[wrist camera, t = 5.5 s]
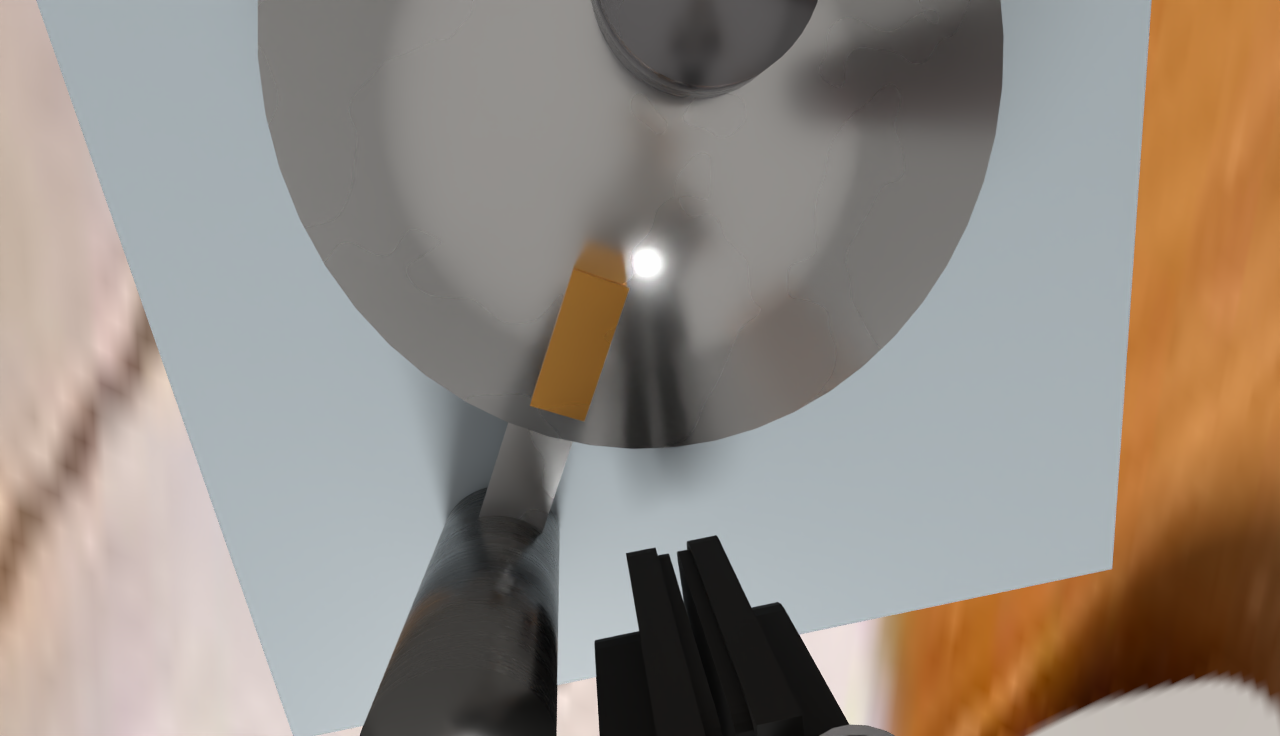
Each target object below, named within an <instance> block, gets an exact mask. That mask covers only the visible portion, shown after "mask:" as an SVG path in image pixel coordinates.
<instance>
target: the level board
mask: <svg viewBox="0 0 1280 736" xmlns="http://www.w3.org/2000/svg"><path fill="white" fill-rule="evenodd" d="M36 1H37V3H38V6H39V9H40V12H41V15H42V18H43V21H44V23H45V26H46V29H47V32H48V35H49V38H50V41H51V44H52V46H53V49H54V52H55V55H56V58H57V61H58V64H59V66H60V69H61V72H62V75H63V78H64V81H65V84H66V86H67V89H68V92H69V95H70V98H71V101H72V104H73V107H74V109H75V112H76V115H77V118H78V121H79V124H80V127H81V129H82V132H83V135H84V138H85V141H86V144H87V147H88V149H89V152H90V155H91V158H92V161H93V164H94V167H95V170H96V172H97V175H98V178H99V181H100V184H101V187H102V190H103V192H104V195H105V198H106V201H107V204H108V207H109V210H110V212H111V215H112V218H113V221H114V224H115V227H116V230H117V233H118V235H119V238H120V241H121V244H122V247H123V250H124V253H125V255H126V258H127V261H128V264H129V267H130V270H131V273H132V275H133V278H134V281H135V284H136V287H137V290H138V293H139V296H140V298H141V301H142V304H143V307H144V310H145V313H146V316H147V318H148V321H149V324H150V327H151V330H152V333H153V336H154V338H155V341H156V344H157V347H158V350H159V353H160V356H161V359H162V361H163V364H164V367H165V370H166V373H167V376H168V379H169V381H170V384H171V387H172V390H173V393H174V396H175V399H176V402H177V404H178V407H179V410H180V413H181V416H182V419H183V422H184V424H185V427H186V430H187V433H188V436H189V439H190V442H191V444H192V447H193V450H194V453H195V456H196V459H197V462H198V465H199V467H200V470H201V473H202V476H203V479H204V482H205V485H206V487H207V490H208V493H209V496H210V499H211V502H212V505H213V507H214V510H215V513H216V516H217V519H218V522H219V525H220V528H221V530H222V533H223V536H224V539H225V542H226V545H227V548H228V550H229V553H230V556H231V559H232V562H233V565H234V568H235V570H236V573H237V576H238V579H239V582H240V585H241V588H242V591H243V593H244V596H245V599H246V602H247V605H248V608H249V611H250V613H251V616H252V619H253V622H254V625H255V628H256V631H257V633H258V636H259V639H260V642H261V645H262V648H263V651H264V654H265V656H266V659H267V662H268V665H269V668H270V671H271V674H272V676H273V679H274V682H275V685H276V688H277V691H278V694H279V696H280V699H281V702H282V705H283V708H284V711H285V714H286V717H287V719H288V722H289V725H290V728H291V731H292V734H293V736H316V735H321V734H326V733H331V732H336V731H340V730H345V729H350V728H355V727H359V726H363V725H364V723H365V720H366V718H367V715H368V713H369V710H370V708H371V706H372V703H373V701H374V698H375V696H376V693H377V691H378V688H379V686H380V683H381V681H382V678H383V676H384V673H385V671H386V668H387V666H388V664H389V661H390V659H391V656H392V654H393V651H394V649H395V646H396V644H397V641H398V639H399V636H400V634H401V631H402V629H403V626H404V624H405V622H406V619H407V617H408V614H409V612H410V609H411V607H412V604H413V602H414V599H415V597H416V594H417V592H418V589H419V587H420V585H421V582H422V580H423V577H424V575H425V572H426V570H427V567H428V565H429V562H430V560H431V557H432V555H433V552H434V550H435V547H436V545H437V543H438V540H439V538H440V535H441V533H442V530H443V528H444V525H445V523H446V520H447V518H448V516H449V514H450V513H451V511H452V510H453V508H454V507H455V506H456V505H457V504H458V503H459V502H460V501H461V500H462V499H464V498H465V497H466V496H468V495H470V494H471V493H473V492H475V491H478V490H480V489H483V488H487V487H488V485H489V482H490V478H491V475H492V472H493V469H494V466H495V463H496V459H497V456H498V453H499V450H500V447H501V443H502V440H503V437H504V434H505V431H506V427H507V424H508V422H506V421H504V420H502V419H500V418H498V417H496V416H494V415H491V414H489V413H487V412H485V411H483V410H481V409H479V408H477V407H475V406H473V405H471V404H469V403H467V402H465V401H464V400H462V399H461V398H459V397H458V396H456V395H455V394H453V393H451V392H450V391H448V390H447V389H445V388H444V387H442V386H441V385H439V384H438V383H436V382H435V381H433V380H432V379H430V378H429V377H427V376H426V375H425V374H423V373H422V372H421V371H420V370H419V369H417V368H416V367H415V366H414V365H413V364H412V363H410V362H409V361H408V360H407V359H406V358H405V357H403V356H402V355H401V354H400V353H399V352H398V351H396V350H395V349H394V348H393V347H392V346H390V345H389V344H388V343H387V342H386V340H385V339H384V338H383V337H382V336H381V335H380V334H379V333H378V332H377V331H376V330H375V329H374V327H373V326H372V325H371V324H370V323H369V322H368V321H367V320H366V319H365V318H364V317H363V315H362V314H361V313H360V312H359V311H358V310H357V309H356V308H355V307H354V305H353V304H352V302H351V301H350V300H349V298H348V297H347V295H346V294H345V293H344V291H343V290H342V288H341V287H340V286H339V284H338V283H337V281H336V280H335V279H334V277H333V276H332V274H331V273H330V272H329V270H328V269H327V268H326V266H325V264H324V263H323V261H322V259H321V257H320V255H319V253H318V252H317V250H316V248H315V246H314V244H313V242H312V241H311V239H310V237H309V235H308V233H307V232H306V230H305V228H304V226H303V224H302V222H301V221H300V219H299V216H298V214H297V211H296V209H295V206H294V204H293V201H292V198H291V196H290V193H289V191H288V188H287V186H286V183H285V181H284V178H283V176H282V173H281V171H280V168H279V165H278V161H277V157H276V153H275V149H274V145H273V142H272V138H271V134H270V130H269V126H268V122H267V118H266V115H265V108H264V100H263V92H262V85H261V77H260V69H259V62H258V0H36ZM1001 11H1002V23H1003V34H1004V42H1003V80H1002V92H1001V100H1000V107H999V114H998V121H997V129H996V135H995V139H994V143H993V147H992V151H991V155H990V159H989V163H988V167H987V171H986V175H985V179H984V182H983V185H982V188H981V190H980V193H979V196H978V198H977V201H976V204H975V206H974V209H973V212H972V214H971V217H970V220H969V222H968V225H967V227H966V229H965V231H964V233H963V235H962V237H961V239H960V241H959V243H958V245H957V247H956V249H955V251H954V253H953V255H952V257H951V259H950V261H949V263H948V265H947V266H946V268H945V269H944V271H943V272H942V274H941V275H940V277H939V279H938V280H937V282H936V283H935V285H934V286H933V288H932V289H931V291H930V292H929V294H928V295H927V297H926V298H925V300H924V301H923V303H922V304H921V305H920V306H919V308H918V309H917V310H916V311H915V312H914V314H913V315H912V316H911V317H910V319H909V320H908V321H907V322H906V323H905V325H904V326H903V327H902V328H901V329H900V331H899V332H898V333H897V334H896V335H895V336H894V337H893V338H892V339H891V340H890V341H889V342H888V343H887V344H886V345H885V346H884V347H883V348H882V349H881V350H880V351H879V352H878V353H877V354H876V355H875V356H874V357H873V358H871V359H870V360H869V361H868V362H867V363H866V364H865V365H864V366H863V367H862V368H860V369H859V370H858V371H856V372H855V373H854V374H852V375H851V376H850V377H848V378H847V379H846V380H844V381H843V382H842V383H840V384H839V385H838V386H836V387H835V388H834V389H832V390H831V391H830V392H828V393H826V394H825V395H823V396H821V397H819V398H818V399H816V400H814V401H813V402H811V403H809V404H807V405H806V406H804V407H802V408H800V409H799V410H797V411H795V412H794V413H791V414H789V415H787V416H784V417H782V418H780V419H777V420H775V421H773V422H770V423H768V424H766V425H763V426H761V427H759V428H756V429H754V430H750V431H747V432H743V433H740V434H736V435H733V436H730V437H726V438H723V439H719V440H716V441H710V442H704V443H698V444H692V445H686V446H680V447H670V448H644V449H628V448H616V447H605V446H593V445H587V444H582V443H577V442H573V443H572V446H571V449H570V452H569V455H568V458H567V461H566V464H565V467H564V470H563V473H562V476H561V479H560V482H559V484H558V487H557V490H556V493H555V496H554V499H553V502H552V505H551V508H550V509H551V510H552V512H553V513H554V515H555V517H556V520H557V523H558V526H559V532H560V554H559V612H558V669H557V685H560V684H565V683H570V682H574V681H579V680H584V679H589V678H594V677H596V665H595V645H594V643H595V640H598V639H603V638H608V637H613V636H617V635H622V634H627V633H632V632H637V631H639V627H638V622H637V616H636V610H635V604H634V598H633V592H632V587H631V581H630V575H629V569H628V563H627V557H626V553H629V552H634V551H639V550H644V549H649V548H654V547H655V548H656V551H657V554H658V555H662V554H667V553H669V555H670V558H671V562H672V565H673V568H674V572H675V575H676V578H677V582H678V585H679V588H680V591H681V595H682V598H683V593H682V586H681V580H680V573H679V566H678V559H677V551H682V550H687V541H690V540H695V539H700V538H705V537H710V536H715V535H716V536H718V538H719V540H720V542H721V544H722V546H723V548H724V551H725V553H726V555H727V557H728V559H729V561H730V563H731V565H732V568H733V570H734V572H735V574H736V576H737V578H738V580H739V582H740V584H741V587H742V589H743V591H744V593H745V595H746V597H747V599H748V601H749V604H750V606H751V607H756V606H761V605H766V604H771V603H775V602H779V603H781V604H782V606H783V607H784V609H785V610H786V612H787V614H788V616H789V617H790V619H791V621H792V623H793V625H794V626H795V628H796V630H797V632H798V634H804V633H809V632H813V631H818V630H823V629H828V628H832V627H837V626H842V625H847V624H852V623H856V622H861V621H866V620H871V619H875V618H880V617H885V616H890V615H895V614H899V613H904V612H909V611H914V610H918V609H923V608H928V607H933V606H938V605H942V604H947V603H952V602H957V601H961V600H966V599H971V598H976V597H981V596H985V595H990V594H995V593H1000V592H1004V591H1009V590H1014V589H1019V588H1024V587H1028V586H1033V585H1038V584H1043V583H1047V582H1052V581H1057V580H1062V579H1067V578H1071V577H1076V576H1081V575H1086V574H1090V573H1095V572H1100V571H1105V570H1110V569H1112V563H1113V548H1114V534H1115V519H1116V505H1117V490H1118V476H1119V461H1120V447H1121V432H1122V418H1123V404H1124V389H1125V375H1126V360H1127V346H1128V331H1129V317H1130V302H1131V288H1132V273H1133V259H1134V244H1135V230H1136V216H1137V201H1138V187H1139V172H1140V158H1141V143H1142V129H1143V114H1144V100H1145V85H1146V71H1147V56H1148V42H1149V27H1150V13H1151V0H1001ZM683 601H684V600H683Z"/></svg>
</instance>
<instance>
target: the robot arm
mask: <svg viewBox="0 0 1280 736" xmlns="http://www.w3.org/2000/svg"><path fill="white" fill-rule="evenodd" d="M626 557H627V563H628V569H629V575H630V581H631V587H632V592H633V598H634V604H635V610H636V616H637V622H638V627H639V631H637V632H632V633H627V634H622V635H617V636H613V637H608V638H603V639H598V640H595V643H594V645H595V665H596V681H597V698H598V715H599V731H600V736H894V735H892V734H891V733H889V732H887V731H884V730H881V729H877V728H874V727H871V726H866V725H849V723H848V722H847V720H846V718H845V716H844V714H843V713H842V711H841V709H840V707H839V705H838V704H837V702H836V700H835V698H834V696H833V695H832V693H831V691H830V689H829V687H828V686H827V684H826V682H825V680H824V678H823V677H822V675H821V673H820V671H819V669H818V668H817V666H816V664H815V662H814V660H813V659H812V657H811V655H810V653H809V651H808V650H807V648H806V646H805V644H804V643H803V641H802V639H801V637H800V635H799V634H798V632H797V630H796V628H795V626H794V625H793V623H792V621H791V619H790V617H789V616H788V614H787V612H786V610H785V609H784V607H783V606H782V604H781V603H779V602H775V603H771V604H766V605H761V606H756V607H751V606H750V604H749V601H748V599H747V597H746V595H745V593H744V591H743V589H742V587H741V584H740V582H739V580H738V578H737V576H736V574H735V572H734V570H733V568H732V565H731V563H730V561H729V559H728V557H727V555H726V553H725V551H724V548H723V546H722V544H721V542H720V540H719V538H718V536H716V535H715V536H710V537H705V538H700V539H695V540H690V541H687V550H682V551H677V559H678V566H679V573H680V580H681V586H682V593H683V598H682V595H681V591H680V588H679V585H678V582H677V578H676V575H675V572H674V568H673V565H672V562H671V558H670V555H669V553H667V554H662V555H658V554H657V551H656V548H655V547H654V548H649V549H644V550H639V551H634V552H629V553H626ZM683 600H684V601H683Z"/></svg>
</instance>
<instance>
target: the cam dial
mask: <svg viewBox="0 0 1280 736" xmlns="http://www.w3.org/2000/svg"><path fill="white" fill-rule="evenodd" d="M1003 42H1004V34H1003V23H1002V11H1001V0H258V62H259V69H260V77H261V85H262V92H263V100H264V108H265V115H266V118H267V122H268V126H269V130H270V134H271V138H272V142H273V145H274V149H275V153H276V157H277V161H278V165H279V168H280V171H281V173H282V176H283V178H284V181H285V183H286V186H287V188H288V191H289V193H290V196H291V198H292V201H293V204H294V206H295V209H296V211H297V214H298V216H299V219H300V221H301V222H302V224H303V226H304V228H305V230H306V232H307V233H308V235H309V237H310V239H311V241H312V242H313V244H314V246H315V248H316V250H317V252H318V253H319V255H320V257H321V259H322V261H323V263H324V264H325V266H326V268H327V269H328V270H329V272H330V273H331V274H332V276H333V277H334V279H335V280H336V281H337V283H338V284H339V286H340V287H341V288H342V290H343V291H344V293H345V294H346V295H347V297H348V298H349V300H350V301H351V302H352V304H353V305H354V307H355V308H356V309H357V310H358V311H359V312H360V313H361V314H362V315H363V317H364V318H365V319H366V320H367V321H368V322H369V323H370V324H371V325H372V326H373V327H374V329H375V330H376V331H377V332H378V333H379V334H380V335H381V336H382V337H383V338H384V339H385V340H386V342H387V343H388V344H389V345H390V346H392V347H393V348H394V349H395V350H396V351H398V352H399V353H400V354H401V355H402V356H403V357H405V358H406V359H407V360H408V361H409V362H410V363H412V364H413V365H414V366H415V367H416V368H417V369H419V370H420V371H421V372H422V373H423V374H425V375H426V376H427V377H429V378H430V379H432V380H433V381H435V382H436V383H438V384H439V385H441V386H442V387H444V388H445V389H447V390H448V391H450V392H451V393H453V394H455V395H456V396H458V397H459V398H461V399H462V400H464V401H465V402H467V403H469V404H471V405H473V406H475V407H477V408H479V409H481V410H483V411H485V412H487V413H489V414H491V415H494V416H496V417H498V418H500V419H502V420H504V421H506V422H508V424H507V427H506V431H505V434H504V437H503V440H502V443H501V447H500V450H499V453H498V456H497V459H496V463H495V466H494V469H493V472H492V475H491V478H490V482H489V485H488V487H487V488H483V489H480V490H478V491H475V492H473V493H471V494H470V495H468V496H466V497H465V498H464V499H462V500H461V501H460V502H459V503H458V504H457V505H456V506H455V507H454V508H453V510H452V511H451V513H450V514H449V516H448V518H447V520H446V523H445V525H444V528H443V530H442V533H441V535H440V538H439V540H438V543H437V545H436V547H435V550H434V552H433V555H432V557H431V560H430V562H429V565H428V567H427V570H426V572H425V575H424V577H423V580H422V582H421V585H420V587H419V589H418V592H417V594H416V597H415V599H414V602H413V604H412V607H411V609H410V612H409V614H408V617H407V619H406V622H405V624H404V626H403V629H402V631H401V634H400V636H399V639H398V641H397V644H396V646H395V649H394V651H393V654H392V656H391V659H390V661H389V664H388V666H387V668H386V671H385V673H384V676H383V678H382V681H381V683H380V686H379V688H378V691H377V693H376V696H375V698H374V701H373V703H372V706H371V708H370V710H369V713H368V715H367V718H366V720H365V723H364V725H363V728H362V731H361V733H360V736H556V727H557V669H558V612H559V554H560V532H559V526H558V523H557V520H556V517H555V515H554V513H553V512H552V510H551V509H550V508H551V505H552V502H553V499H554V496H555V493H556V490H557V487H558V484H559V482H560V479H561V476H562V473H563V470H564V467H565V464H566V461H567V458H568V455H569V452H570V449H571V446H572V443H573V442H577V443H582V444H587V445H593V446H605V447H616V448H628V449H644V448H670V447H680V446H686V445H692V444H698V443H704V442H710V441H716V440H719V439H723V438H726V437H730V436H733V435H736V434H740V433H743V432H747V431H750V430H754V429H756V428H759V427H761V426H763V425H766V424H768V423H770V422H773V421H775V420H777V419H780V418H782V417H784V416H787V415H789V414H791V413H794V412H795V411H797V410H799V409H800V408H802V407H804V406H806V405H807V404H809V403H811V402H813V401H814V400H816V399H818V398H819V397H821V396H823V395H825V394H826V393H828V392H830V391H831V390H832V389H834V388H835V387H836V386H838V385H839V384H840V383H842V382H843V381H844V380H846V379H847V378H848V377H850V376H851V375H852V374H854V373H855V372H856V371H858V370H859V369H860V368H862V367H863V366H864V365H865V364H866V363H867V362H868V361H869V360H870V359H871V358H873V357H874V356H875V355H876V354H877V353H878V352H879V351H880V350H881V349H882V348H883V347H884V346H885V345H886V344H887V343H888V342H889V341H890V340H891V339H892V338H893V337H894V336H895V335H896V334H897V333H898V332H899V331H900V329H901V328H902V327H903V326H904V325H905V323H906V322H907V321H908V320H909V319H910V317H911V316H912V315H913V314H914V312H915V311H916V310H917V309H918V308H919V306H920V305H921V304H922V303H923V301H924V300H925V298H926V297H927V295H928V294H929V292H930V291H931V289H932V288H933V286H934V285H935V283H936V282H937V280H938V279H939V277H940V275H941V274H942V272H943V271H944V269H945V268H946V266H947V265H948V263H949V261H950V259H951V257H952V255H953V253H954V251H955V249H956V247H957V245H958V243H959V241H960V239H961V237H962V235H963V233H964V231H965V229H966V227H967V225H968V222H969V220H970V217H971V214H972V212H973V209H974V206H975V204H976V201H977V198H978V196H979V193H980V190H981V188H982V185H983V182H984V179H985V175H986V171H987V167H988V163H989V159H990V155H991V151H992V147H993V143H994V139H995V135H996V129H997V121H998V114H999V107H1000V100H1001V92H1002V80H1003Z"/></svg>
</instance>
